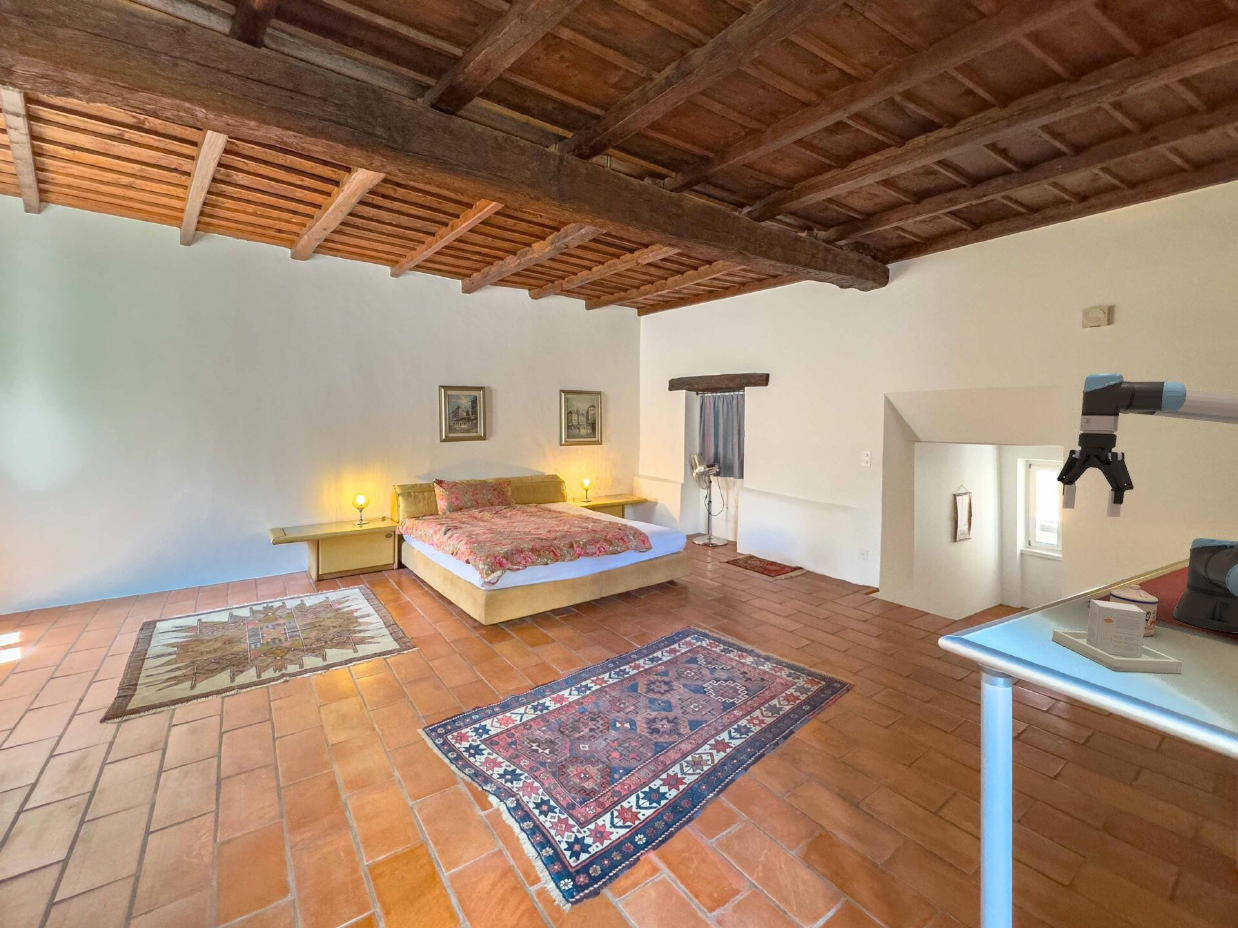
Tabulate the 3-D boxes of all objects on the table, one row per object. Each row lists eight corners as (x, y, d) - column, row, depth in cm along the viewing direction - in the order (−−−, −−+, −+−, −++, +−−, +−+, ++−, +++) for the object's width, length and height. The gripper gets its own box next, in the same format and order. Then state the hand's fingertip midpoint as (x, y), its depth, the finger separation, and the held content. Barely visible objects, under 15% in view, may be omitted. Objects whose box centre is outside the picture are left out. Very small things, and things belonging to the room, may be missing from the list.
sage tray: (1110, 642, 129) (1111, 632, 129) (1180, 673, 113) (1182, 661, 113) (1052, 640, 129) (1053, 629, 128) (1114, 670, 113) (1115, 659, 112)
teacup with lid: (1147, 639, 132) (1152, 592, 131) (1100, 626, 140) (1104, 582, 139) (1164, 631, 138) (1169, 586, 137) (1118, 619, 146) (1122, 577, 145)
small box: (1130, 650, 122) (1135, 604, 121) (1141, 659, 116) (1147, 612, 116) (1085, 643, 125) (1090, 598, 124) (1094, 652, 120) (1099, 605, 119)
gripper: (1046, 431, 156) (1039, 504, 157) (1128, 432, 131) (1119, 519, 132) (1071, 432, 156) (1064, 505, 157) (1159, 434, 131) (1149, 521, 132)
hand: (1089, 512), depth 145 cm, fingers open, 13 cm apart
